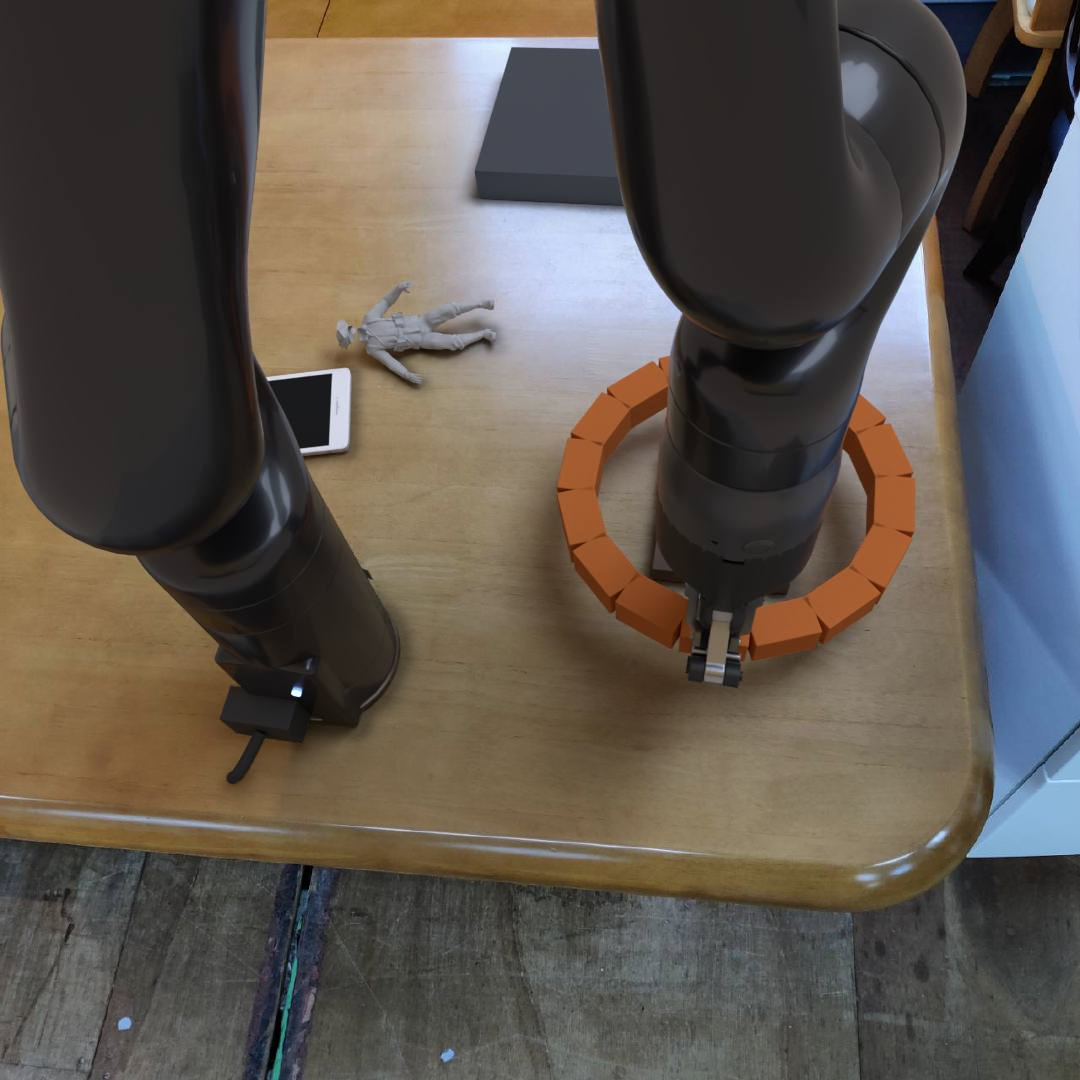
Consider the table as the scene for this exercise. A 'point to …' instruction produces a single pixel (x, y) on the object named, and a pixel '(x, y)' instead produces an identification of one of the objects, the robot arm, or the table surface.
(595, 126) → the stand
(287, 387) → the cell phone
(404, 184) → the table surface
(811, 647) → the ring
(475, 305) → the soldier figure
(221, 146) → the robot arm
